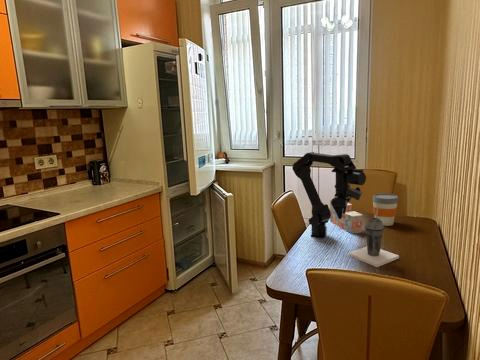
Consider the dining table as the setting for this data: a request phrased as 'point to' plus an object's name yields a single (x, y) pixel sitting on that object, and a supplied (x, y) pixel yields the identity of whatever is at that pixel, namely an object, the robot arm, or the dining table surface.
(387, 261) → the board
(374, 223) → the beverage cup
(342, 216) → the patterned box
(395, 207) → the reusable coffee cup
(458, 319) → the dining table surface
